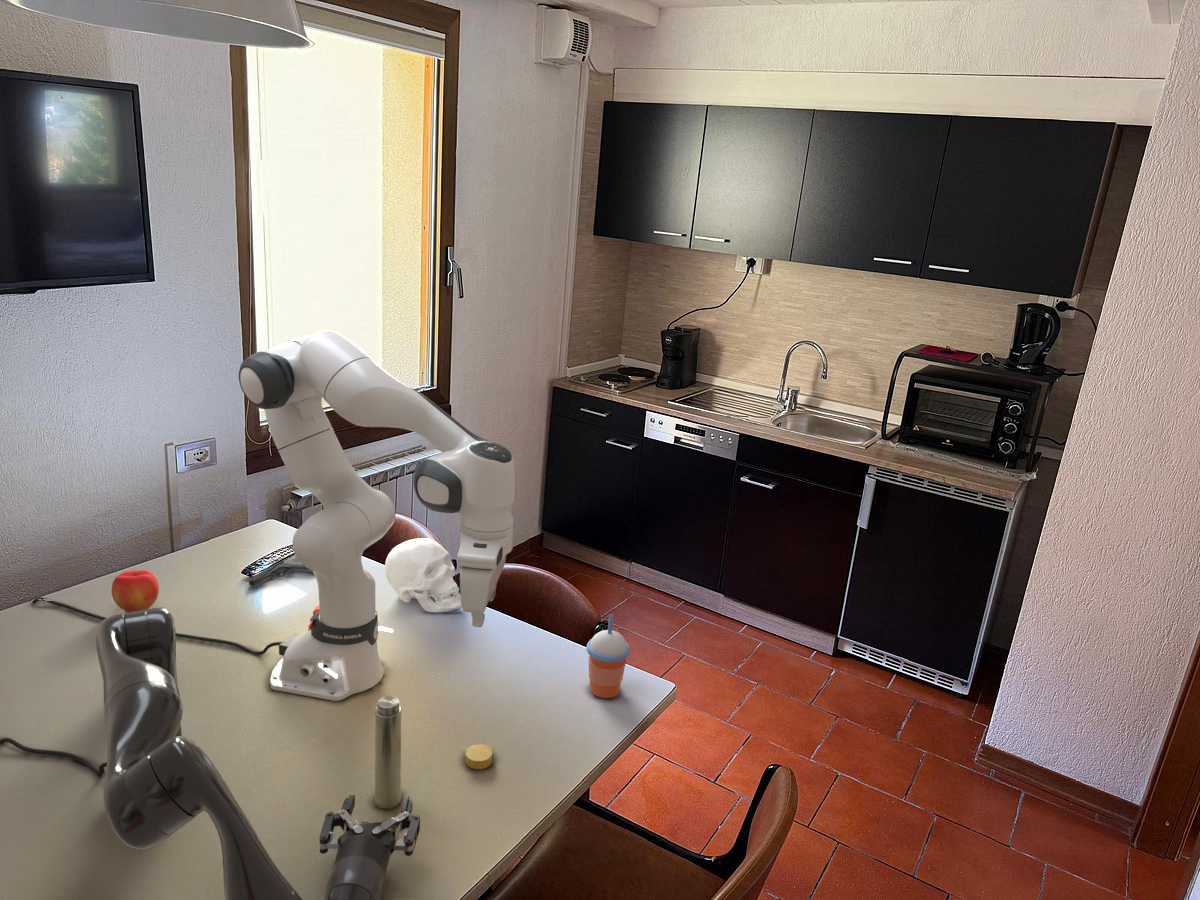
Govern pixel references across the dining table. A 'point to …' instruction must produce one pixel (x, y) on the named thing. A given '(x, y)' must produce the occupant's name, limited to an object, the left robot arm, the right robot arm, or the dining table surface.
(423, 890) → the dining table surface
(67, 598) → the dining table surface
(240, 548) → the dining table surface
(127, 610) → the apple
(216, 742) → the dining table surface
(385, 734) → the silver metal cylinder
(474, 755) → the lid
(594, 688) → the cup with straw
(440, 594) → the skull
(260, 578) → the handgun
